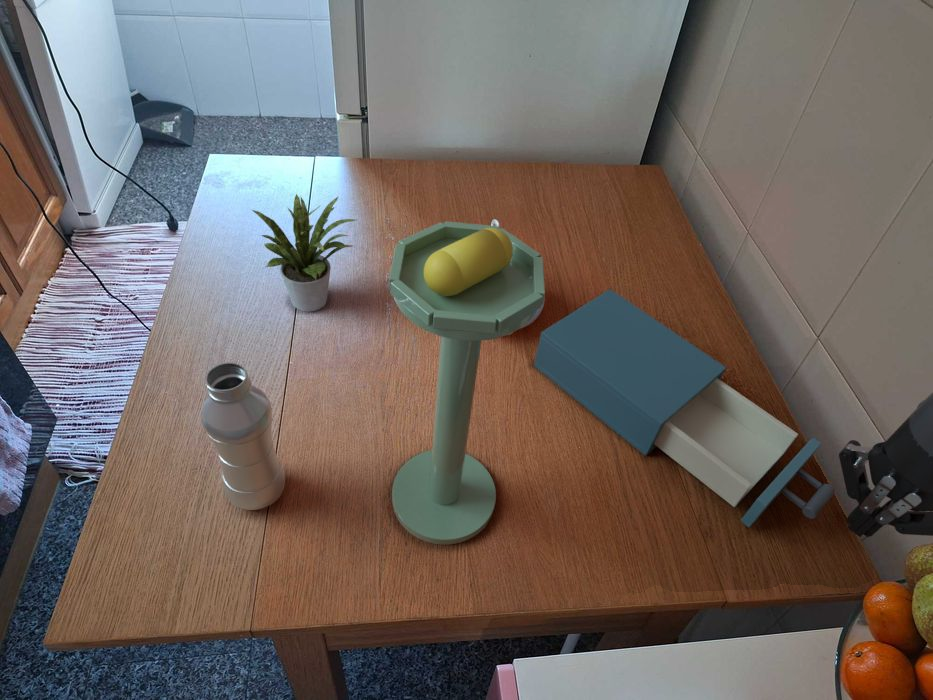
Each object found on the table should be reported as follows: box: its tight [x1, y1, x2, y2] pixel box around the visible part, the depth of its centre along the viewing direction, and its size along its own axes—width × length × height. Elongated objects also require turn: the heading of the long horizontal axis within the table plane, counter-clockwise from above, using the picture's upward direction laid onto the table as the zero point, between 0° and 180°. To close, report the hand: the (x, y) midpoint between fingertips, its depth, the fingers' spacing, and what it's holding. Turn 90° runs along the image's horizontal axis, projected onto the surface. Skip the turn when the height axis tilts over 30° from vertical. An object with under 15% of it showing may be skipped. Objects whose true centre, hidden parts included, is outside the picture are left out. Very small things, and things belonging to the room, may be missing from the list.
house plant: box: [251, 193, 357, 313], centre depth 91 cm, size 14×14×16 cm
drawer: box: [654, 378, 836, 528], centre depth 80 cm, size 23×14×5 cm, turn 42°
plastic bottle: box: [200, 362, 286, 511], centre depth 67 cm, size 6×7×20 cm
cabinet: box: [533, 288, 727, 457], centre depth 88 cm, size 20×15×7 cm
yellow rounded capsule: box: [424, 228, 513, 296], centre depth 50 cm, size 8×4×4 cm, turn 132°
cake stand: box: [388, 220, 546, 546], centre depth 63 cm, size 12×12×34 cm
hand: (857, 528), depth 72 cm, fingers closed
